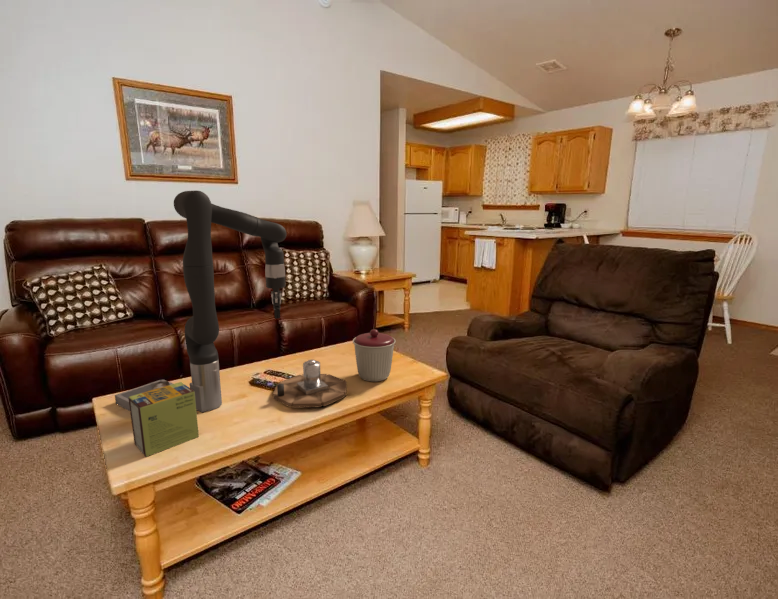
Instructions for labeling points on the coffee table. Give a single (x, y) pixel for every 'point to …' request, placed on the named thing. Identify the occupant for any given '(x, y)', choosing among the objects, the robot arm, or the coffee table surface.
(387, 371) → the canister
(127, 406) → the chock frame
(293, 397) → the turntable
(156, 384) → the caster wheel
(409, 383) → the coffee table surface
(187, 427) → the protein box
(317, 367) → the silver post on plate
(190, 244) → the robot arm
